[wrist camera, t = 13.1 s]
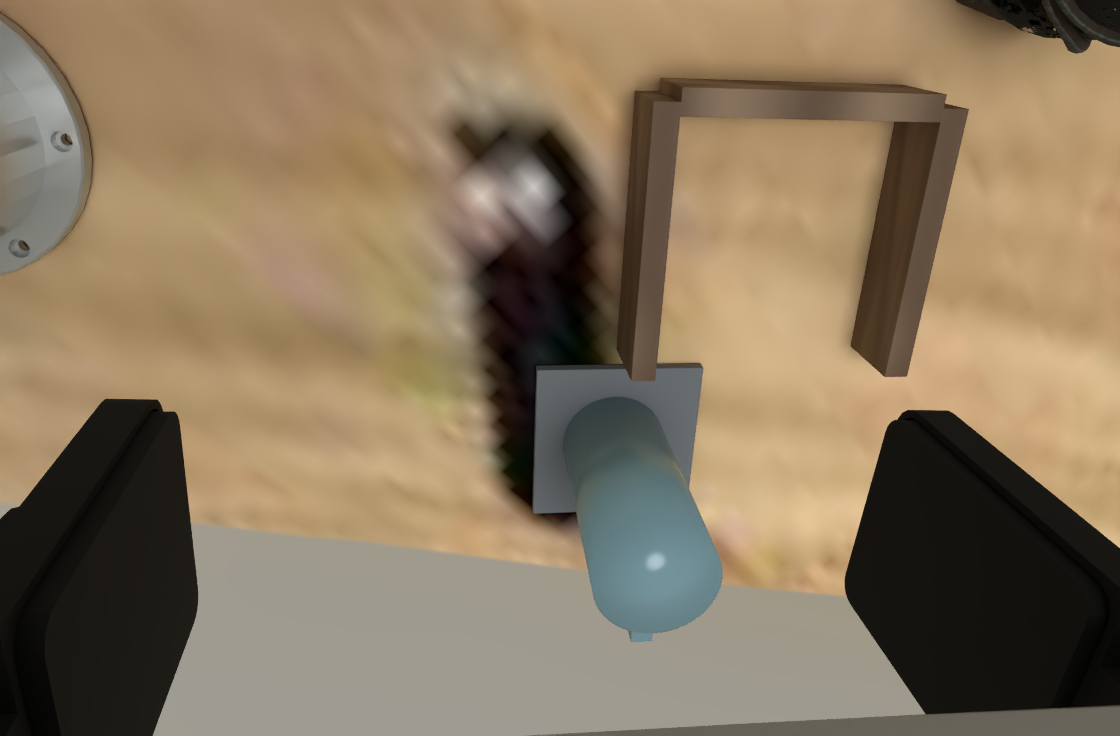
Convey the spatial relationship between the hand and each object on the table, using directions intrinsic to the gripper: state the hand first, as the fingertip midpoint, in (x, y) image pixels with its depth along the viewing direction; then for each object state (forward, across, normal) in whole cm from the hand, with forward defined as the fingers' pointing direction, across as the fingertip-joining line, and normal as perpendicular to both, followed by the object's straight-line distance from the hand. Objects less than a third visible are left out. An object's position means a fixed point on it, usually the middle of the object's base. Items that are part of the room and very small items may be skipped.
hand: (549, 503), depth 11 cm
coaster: (+31, -9, +16) cm, 36 cm away
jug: (+30, -9, +17) cm, 36 cm away
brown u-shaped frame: (+31, -16, +4) cm, 35 cm away
